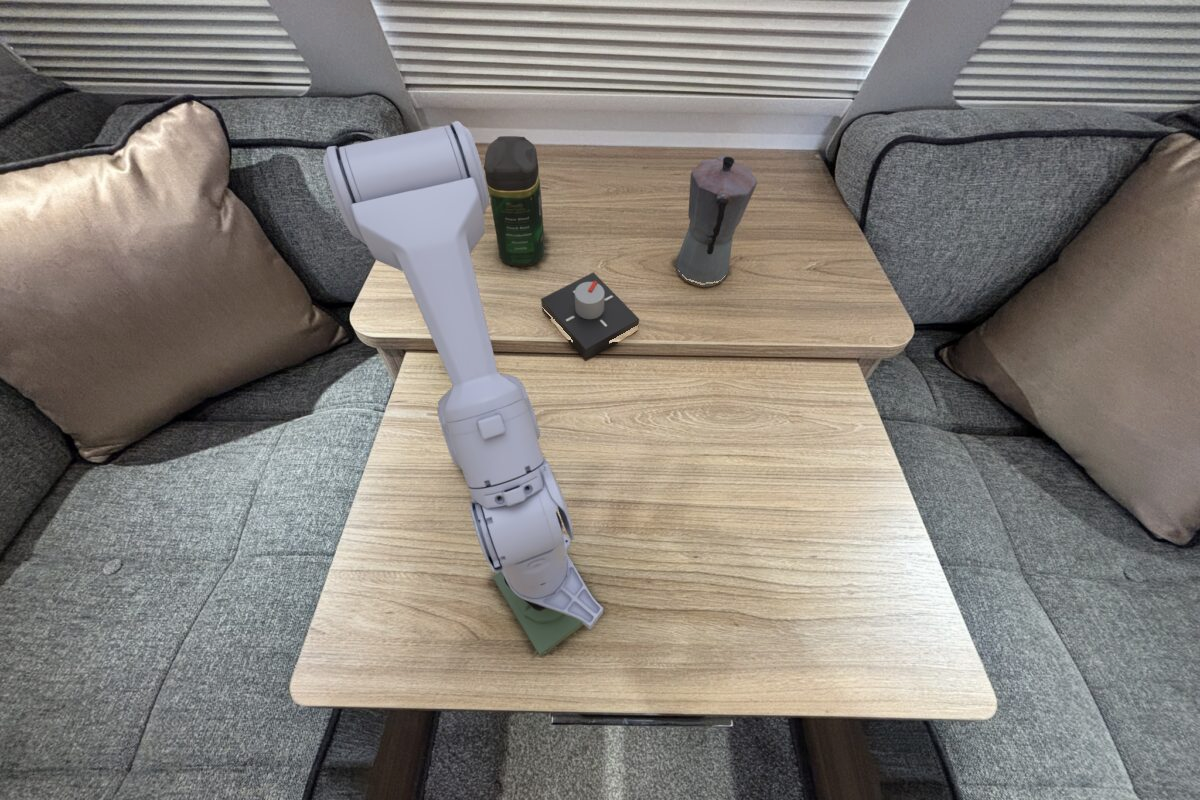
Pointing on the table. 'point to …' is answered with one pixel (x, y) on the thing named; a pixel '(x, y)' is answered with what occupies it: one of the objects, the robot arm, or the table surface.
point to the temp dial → (589, 300)
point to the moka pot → (714, 218)
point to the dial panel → (589, 332)
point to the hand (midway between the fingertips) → (544, 589)
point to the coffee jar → (515, 199)
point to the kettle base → (539, 620)
